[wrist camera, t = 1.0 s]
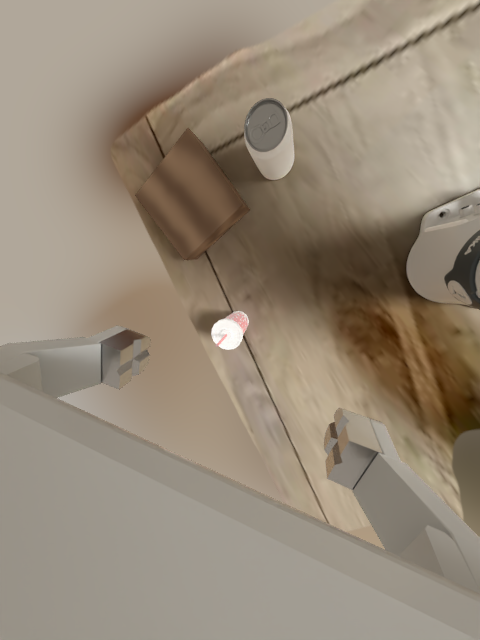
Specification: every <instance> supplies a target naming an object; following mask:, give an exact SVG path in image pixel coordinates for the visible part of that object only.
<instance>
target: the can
mask: <svg viewBox="0 0 480 640" xmlns="http://www.w3.org/2000/svg"><path fill="white" fill-rule="evenodd" d="M244 138H245V143H246V147H247V149H248V151H249V153H250V155H251V157H252V158H253V160H254V162H255V164H256V166H257V167H258V169H259V171H260V172H261V174H262V175H263V176H264V177H265V178H267V179H270V180H278V179H281V178H283V177H284V176H285V175H286V174H287V173H288V172H289V171H290V170H291V168H292V166H293V163H294V141H293V130H292V122H291V118H290V115H289V113H288V111H287V109H286V108H285V107H284V106H283V104H282V103H281V102H279V101H278V100H276V99H273V98H266V99H262V100H260V101H259V102H257V103H256V104H255V105H254V106H253V107H252V108H251V109H250V111H249V113H248V115H247V117H246V120H245V126H244Z"/></svg>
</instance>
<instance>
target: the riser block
mask: <svg viewBox="0 0 480 640" xmlns="http://www.w3.org/2000/svg"><path fill="white" fill-rule="evenodd" d="M135 196H136V197H137V199H138V200H139V201H140V203H141V204H142V205H143V207H144V208H145V209H146V211H147V212H148V213H149V215H150V216H151V217H152V219H153V220H154V221H155V222H156V224H157V225H158V226H159V228H160V229H161V230H162V232H163V233H164V234H165V236H166V237H167V238H168V240H169V241H170V242H171V244H172V245H173V246H174V247H175V249H176V250H177V251H178V253H179V254H180V255H181V257H182V258H183V259H184V260H192V259H198V258H199V257H200V256H201V255H202V254H203V253H204V252H205V251H206V250H207V249H208V248H209V247H210V246H212V245H213V244H214V243H215V242H216V241H217V240H218V239H219V238H220V237H221V236H222V235H223V234H224V233H226V232H227V231H228V230H229V229H230V228H231V227H232V226H233V225H234V224H235V223H236V222H237V221H238V220H239V219H241V218H242V217H243V216H244V215H245V214H246V213H247V212H248V211H249V210H250V209H249V208H248V206H247V205H246V203H245V202H244V201H243V199H242V198H241V196H240V195H239V194H238V192H237V191H236V189H235V188H234V186H233V185H232V184H231V182H230V181H229V179H228V178H227V177H226V175H225V174H224V172H223V171H222V170H221V168H220V167H219V165H218V164H217V163H216V161H215V160H214V158H213V157H212V156H211V154H210V153H209V151H208V150H207V149H206V147H205V146H204V144H203V143H202V142H201V141H200V140H199V139H198V138H197V137H196V135H195V134H194V133H193V132H192V131H191V130H190V129H189V128H187V129H186V131H185V132H184V133H183V134H182V136H181V137H180V138H179V140H178V141H177V142H176V143H175V145H174V146H173V147H172V149H171V150H170V151H169V152H168V154H167V155H166V156H165V158H164V159H163V160H162V161H161V163H160V164H159V165H158V167H157V168H156V169H155V170H154V172H153V173H152V174H151V176H150V177H149V178H148V179H147V181H146V182H145V183H144V185H143V186H142V187H141V188H140V190H139V191H138V192H137V194H136V195H135Z"/></svg>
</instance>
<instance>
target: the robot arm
mask: <svg viewBox="0 0 480 640" xmlns="http://www.w3.org/2000/svg"><path fill="white" fill-rule="evenodd" d="M441 212H442V213H443V216H442V217H439V214H440V213H441ZM407 276H408V280H409V282H410V284H411V286H412V287H413V289H414V290H415V291H416V292H417V293H418V294H420V295H421V296H422V297H424V298H426V299H428V300H431V301H434V302H439V303H454V304H463V305H467V306H470V307H474V308H477V309H479V310H480V189H478V190H475V191H473V192H471V193H469V194H466V195H464V196H462V197H460V198H458V199H455V200H453V201H451V202H449V203H447V204H444V205H442V206H440V207H438V208H435V209H433V210H431V211H429V212H427V213H426V214H425V215H424V217H423V219H422V222H421V227H420V234H419V236H418V238H417V240H416V242H415V243H414V245H413V247H412V249H411V251H410V253H409V256H408V260H407ZM150 343H151V340H150V338H149V337H148V336H145V335H143V334H140V333H137V332H135V331H132V330H129V329H127V328H124V327H122V326H115V327H113V328H110V329H108V330H105V331H103V332H101V333H98V334H96V335H94V336H91V337H89V338H85V337H80V338H69V339H68V338H67V339H56V340H44V341H33V342H21V343H10V344H5V345H2V346H0V640H480V538H479V537H478V536H477V535H476V534H475V533H474V532H473V531H472V530H471V529H470V528H469V527H468V526H467V525H466V524H465V522H464V521H463V520H462V519H461V518H460V517H459V516H458V515H457V514H456V513H455V512H454V511H453V510H452V509H451V508H450V507H449V506H448V505H447V504H446V503H445V502H444V501H443V500H442V499H441V498H440V497H439V496H438V495H437V494H436V493H435V492H434V491H433V490H432V489H431V488H430V487H429V486H428V485H427V484H426V483H425V482H424V481H423V480H422V479H421V478H420V477H419V476H418V475H417V474H416V473H415V472H414V471H413V470H412V469H411V468H410V467H409V466H408V465H407V464H406V463H404V462H401V460H400V458H399V456H398V454H397V451H396V449H395V447H394V445H393V442H392V440H391V438H390V436H389V433H388V431H387V429H386V427H385V425H384V424H383V423H382V422H380V421H377V420H374V419H371V418H368V417H364V416H361V415H359V414H356V413H353V412H350V411H347V410H344V409H342V408H338V409H337V410H336V412H335V414H334V420H335V422H333V423H331V424H329V426H328V428H327V430H326V434H325V438H324V450H325V452H326V453H327V454H328V457H327V459H326V461H325V462H326V472H327V479H329V480H332V481H334V482H336V483H338V484H340V485H342V486H345V487H347V488H349V489H351V490H353V491H352V492H353V493H354V495H355V497H356V499H357V500H358V502H359V504H360V506H361V507H362V509H363V511H364V513H365V514H366V516H367V518H368V520H369V521H370V523H371V525H372V527H373V528H374V530H375V532H376V534H377V535H378V537H379V539H380V541H381V542H382V544H383V546H384V548H385V550H384V549H382V548H380V547H378V546H375V545H373V544H371V543H369V542H367V541H365V540H362V539H360V538H358V537H356V536H354V535H352V534H349V533H347V532H345V531H343V530H341V529H339V528H336V527H334V526H332V525H330V524H328V523H326V522H323V521H321V520H319V519H317V518H315V517H313V516H310V515H308V514H306V513H304V512H302V511H300V510H297V509H295V508H293V507H291V506H289V505H287V504H284V503H282V502H280V501H278V500H276V499H274V498H272V497H269V496H267V495H265V494H263V493H261V492H258V491H256V490H254V489H252V488H250V487H248V486H246V485H243V484H241V483H239V482H237V481H235V480H233V479H231V478H228V477H226V476H224V475H222V474H220V473H218V472H215V471H213V470H211V469H209V468H207V467H204V466H202V465H200V464H198V463H196V462H194V461H192V460H189V459H187V458H185V457H183V456H181V455H179V454H176V453H174V452H172V451H170V450H168V449H166V448H163V447H161V446H159V445H157V444H155V443H152V442H150V441H148V440H146V439H144V438H142V437H139V436H137V435H135V434H133V433H130V432H129V431H127V430H124V429H122V428H120V427H118V426H116V425H114V424H111V423H109V422H107V421H105V420H103V419H100V418H98V417H96V416H94V415H92V414H90V413H88V412H85V411H83V410H81V409H79V408H77V407H74V406H72V405H70V404H68V403H66V402H64V401H61V400H59V399H57V398H58V397H61V396H64V395H67V394H70V393H73V392H76V391H79V390H82V389H86V388H88V387H92V386H95V385H98V384H101V383H104V384H106V385H109V386H111V387H114V388H117V389H121V388H122V387H123V386H124V385H126V384H127V383H128V382H130V381H131V379H132V376H134V375H139V374H140V373H141V372H142V371H144V369H145V368H146V366H147V364H148V361H149V356H150V355H149V353H148V351H147V349H148V348H149V347H150Z"/></svg>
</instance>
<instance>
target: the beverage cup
mask: <svg viewBox="0 0 480 640" xmlns="http://www.w3.org/2000/svg"><path fill="white" fill-rule="evenodd" d="M248 323H249V320H248V317H247V315H246V314H245V313H243V312H241V311H236V312H233V313H232V314H230V315H229V316H227V317H226V318H224V319H221V320H219V321H218V322H216V323H215V324H214V326H213V328H212V333H211V335H212V338H213V341H214V342H215V343H216V347H218V346H219V347H221V348H222V349H227V350H230V349H234V348H236V347H237V346H239V344H240V342H241V341H242V337H243V334H244V332H245V330H246V328H247V326H248Z"/></svg>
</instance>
